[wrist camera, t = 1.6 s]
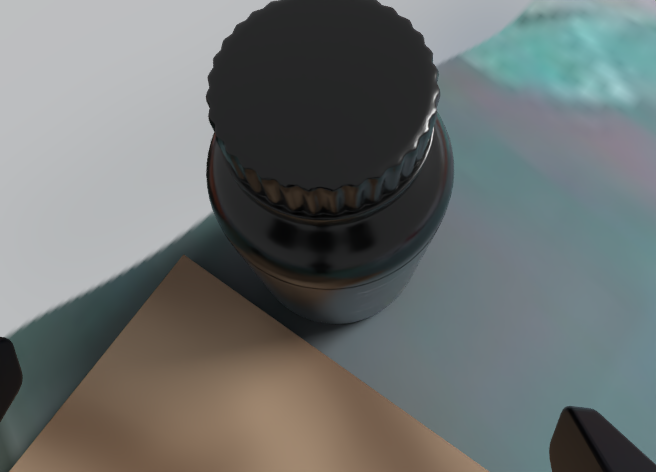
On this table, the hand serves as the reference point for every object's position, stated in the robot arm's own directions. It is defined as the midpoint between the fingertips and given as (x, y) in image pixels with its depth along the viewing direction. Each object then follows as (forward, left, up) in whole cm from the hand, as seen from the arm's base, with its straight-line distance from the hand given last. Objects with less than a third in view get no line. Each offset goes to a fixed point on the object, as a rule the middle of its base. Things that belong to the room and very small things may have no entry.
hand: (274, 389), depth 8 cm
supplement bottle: (+5, +3, -12) cm, 14 cm away
